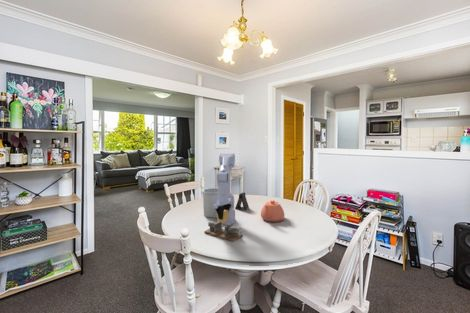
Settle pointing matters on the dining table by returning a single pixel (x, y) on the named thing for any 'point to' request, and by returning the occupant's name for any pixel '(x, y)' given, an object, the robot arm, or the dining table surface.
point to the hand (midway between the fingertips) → (223, 218)
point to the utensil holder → (210, 201)
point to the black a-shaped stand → (242, 200)
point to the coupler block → (225, 216)
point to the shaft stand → (223, 231)
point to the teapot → (272, 211)
